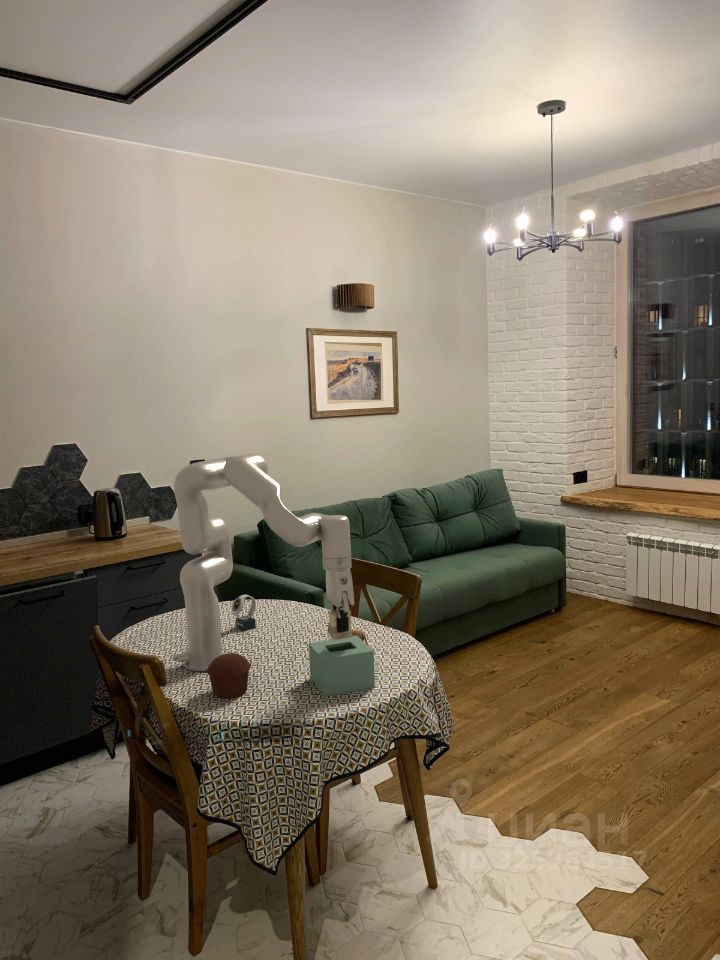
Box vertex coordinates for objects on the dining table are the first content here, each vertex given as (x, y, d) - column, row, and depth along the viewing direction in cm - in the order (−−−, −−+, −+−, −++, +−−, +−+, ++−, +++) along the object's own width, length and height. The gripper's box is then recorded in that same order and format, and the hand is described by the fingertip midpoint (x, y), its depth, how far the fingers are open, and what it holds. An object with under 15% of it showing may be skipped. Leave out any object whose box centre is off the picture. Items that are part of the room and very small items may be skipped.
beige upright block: (334, 640, 191) (332, 614, 190) (330, 636, 194) (328, 611, 193) (352, 637, 193) (350, 611, 192) (347, 633, 196) (346, 608, 195)
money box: (324, 696, 187) (322, 659, 186) (310, 678, 199) (308, 643, 198) (374, 687, 192) (373, 650, 190) (358, 669, 204) (356, 635, 202)
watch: (231, 628, 243) (229, 596, 242) (251, 622, 248) (249, 591, 247) (239, 632, 239) (237, 600, 237) (260, 626, 244) (258, 595, 242)
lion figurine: (325, 651, 219) (324, 622, 218) (332, 645, 224) (330, 617, 222) (371, 655, 214) (370, 626, 213) (377, 649, 219) (376, 620, 218)
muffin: (240, 679, 200) (238, 644, 199) (260, 692, 191) (258, 656, 190) (200, 691, 193) (198, 655, 192) (219, 705, 184) (216, 667, 183)
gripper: (361, 567, 184) (364, 636, 187) (340, 554, 200) (343, 618, 202) (333, 570, 182) (336, 641, 184) (314, 557, 197) (318, 622, 200)
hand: (340, 628), depth 193 cm, fingers closed on beige upright block, 3 cm apart
